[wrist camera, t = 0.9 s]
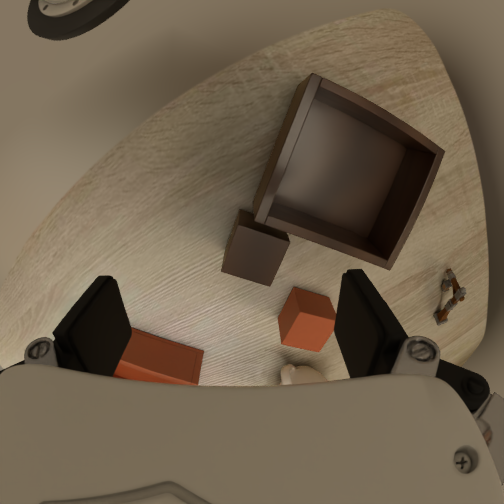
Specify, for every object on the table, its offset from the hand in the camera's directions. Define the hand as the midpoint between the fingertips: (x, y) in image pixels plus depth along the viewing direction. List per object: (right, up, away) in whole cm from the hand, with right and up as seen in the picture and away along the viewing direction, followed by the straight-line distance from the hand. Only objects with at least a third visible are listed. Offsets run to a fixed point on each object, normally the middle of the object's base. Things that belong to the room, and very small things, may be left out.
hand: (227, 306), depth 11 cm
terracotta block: (+7, -4, +19) cm, 21 cm away
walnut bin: (+9, +10, +13) cm, 18 cm away
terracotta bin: (-13, -13, +23) cm, 30 cm away
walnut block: (+1, +3, +16) cm, 16 cm away
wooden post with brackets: (+26, -4, +19) cm, 33 cm away
